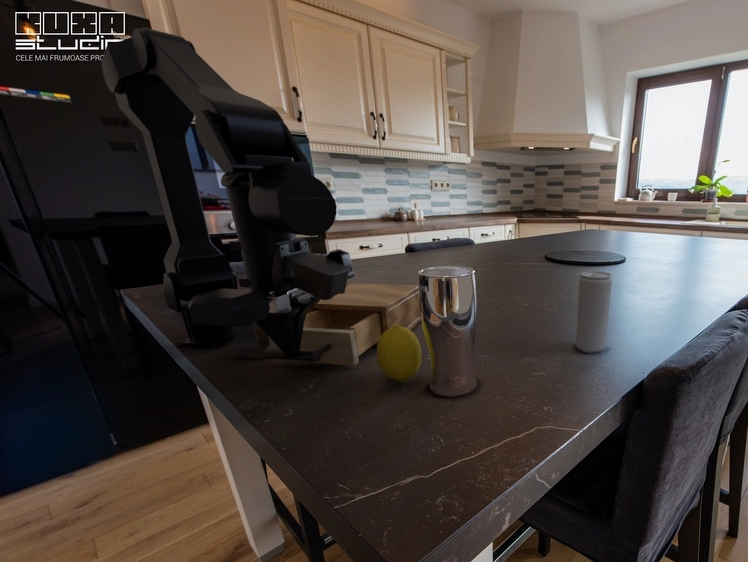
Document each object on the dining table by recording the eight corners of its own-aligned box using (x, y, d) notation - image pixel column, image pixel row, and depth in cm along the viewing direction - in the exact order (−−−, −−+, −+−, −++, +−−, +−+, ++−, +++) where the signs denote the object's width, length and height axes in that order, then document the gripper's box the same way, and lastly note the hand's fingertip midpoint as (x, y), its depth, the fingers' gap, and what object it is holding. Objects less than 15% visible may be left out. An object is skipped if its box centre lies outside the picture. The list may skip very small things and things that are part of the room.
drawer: (337, 379, 51) (331, 344, 49) (250, 373, 53) (241, 338, 51) (396, 333, 67) (393, 305, 66) (328, 329, 69) (323, 302, 67)
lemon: (413, 393, 49) (406, 333, 46) (372, 389, 50) (364, 330, 47) (430, 374, 54) (425, 319, 52) (393, 371, 55) (386, 317, 53)
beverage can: (611, 348, 64) (618, 274, 59) (595, 356, 60) (601, 279, 56) (585, 340, 67) (590, 270, 62) (569, 348, 63) (573, 274, 59)
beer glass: (457, 404, 47) (450, 279, 42) (414, 389, 50) (403, 272, 45) (490, 381, 52) (488, 269, 47) (450, 370, 56) (443, 263, 50)
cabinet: (390, 346, 64) (385, 306, 62) (312, 342, 66) (305, 302, 64) (423, 319, 78) (420, 285, 75) (357, 316, 80) (353, 283, 77)
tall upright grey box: (238, 357, 60) (221, 294, 57) (267, 343, 66) (253, 285, 62) (262, 359, 59) (246, 295, 56) (289, 344, 65) (276, 286, 62)
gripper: (270, 242, 35) (303, 397, 40) (372, 225, 52) (385, 335, 58) (162, 239, 36) (208, 389, 42) (296, 223, 54) (316, 331, 59)
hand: (293, 357), depth 50 cm, fingers closed
